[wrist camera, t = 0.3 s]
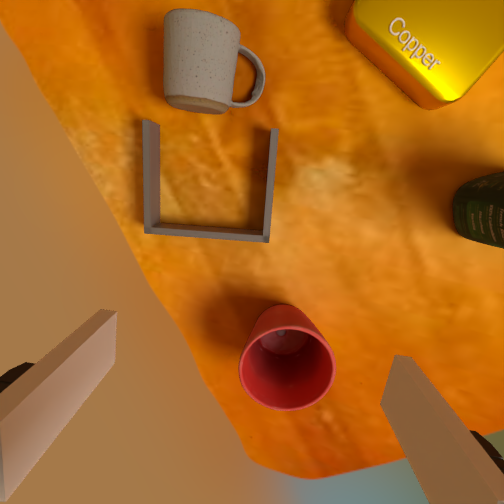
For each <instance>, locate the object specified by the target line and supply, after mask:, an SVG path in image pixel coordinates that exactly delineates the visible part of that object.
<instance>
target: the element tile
mask: <svg viewBox="0 0 504 504" xmlns="http://www.w3.org/2000/svg"><path fill="white" fill-rule="evenodd" d="M344 32H345V35H346V37H347V39H348V40H349V41H350V43H351V44H352V45H353V46H355V47H356V48H357V49H358V50H359V51H360V52H361V53H362V54H363V55H364V56H365V57H366V58H368V59H369V60H370V61H371V62H372V63H373V64H374V65H375V66H376V67H377V68H378V69H379V70H380V71H382V72H383V73H384V74H385V75H386V76H387V77H388V78H389V79H390V80H391V81H392V82H393V83H395V84H396V85H397V86H398V87H399V88H400V89H401V90H402V91H403V92H404V93H405V94H406V95H407V96H409V97H410V98H411V99H412V100H413V101H414V102H415V103H416V104H417V105H418V106H420V107H421V108H423V109H426V110H435V109H438V108H440V107H443V106H446V105H448V104H451V103H454V102H455V101H457V100H459V99H461V98H462V97H463V96H464V95H465V94H466V93H467V92H468V91H469V90H470V89H471V87H472V86H473V85H474V84H475V83H476V82H477V81H478V80H479V78H480V77H481V76H482V75H483V74H484V73H485V72H486V71H487V69H488V68H489V67H490V66H491V65H492V64H493V63H494V62H495V60H496V59H497V58H498V57H499V56H500V55H501V54H502V53H503V51H504V0H355V1H354V2H353V4H352V6H351V8H350V10H349V12H348V14H347V16H346V19H345V22H344Z"/></svg>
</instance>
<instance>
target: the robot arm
mask: <svg viewBox="0 0 504 504" xmlns="http://www.w3.org/2000/svg"><path fill="white" fill-rule="evenodd" d="M116 324H117V311H110V310H104V309H100V310H99V311H98V312H97V313H96V314H94V315H93V316H92V317H91V318H90V319H88V320H87V321H86V322H85V323H84V324H83V325H81V326H80V327H79V328H78V329H77V330H75V331H74V332H73V333H72V334H71V335H69V336H68V337H67V338H66V339H65V340H63V341H62V342H61V343H60V344H59V345H57V346H56V347H55V348H54V349H53V350H51V351H50V352H49V353H48V354H47V355H45V356H44V357H43V358H42V359H41V360H40V361H38V362H37V363H36V364H33V363H27V362H25V363H23V364H21V365H19V366H17V367H15V368H13V369H10V370H9V371H7V372H6V373H5V374H4V375H2V376H1V377H0V501H3V502H6V501H7V499H8V498H9V497H10V496H11V494H12V493H13V492H14V491H15V489H16V488H17V487H18V485H19V484H20V483H21V482H22V480H23V479H24V478H25V477H26V475H27V474H28V473H29V472H30V470H31V469H32V468H33V466H34V465H35V464H36V463H37V461H38V460H39V459H40V457H41V456H42V455H43V454H44V452H45V451H46V450H47V449H48V447H49V446H50V445H51V443H52V442H53V441H54V440H55V438H56V437H57V436H58V434H59V433H60V432H61V431H62V429H63V428H64V427H65V425H66V424H67V423H68V422H69V421H70V419H71V418H72V417H73V415H74V414H75V413H76V412H77V410H78V409H79V408H80V407H81V405H82V404H83V403H84V401H85V400H86V399H87V398H88V396H89V395H90V394H91V393H92V391H93V390H94V389H95V387H96V386H97V385H98V384H99V382H100V381H101V380H102V379H103V377H104V376H105V375H106V373H107V372H108V371H109V370H110V368H111V367H112V366H113V365H114V363H115V347H116ZM380 405H381V407H382V409H383V411H384V413H385V415H386V417H387V419H388V421H389V423H390V425H391V427H392V429H393V431H394V433H395V435H396V437H397V439H398V441H399V443H400V445H401V447H402V449H403V451H404V453H405V455H406V457H407V459H408V461H409V463H410V465H411V467H412V469H413V471H414V473H415V475H416V477H417V479H418V481H419V483H420V485H421V487H422V489H423V491H424V493H425V495H426V497H427V499H428V501H429V503H430V504H504V460H503V457H502V456H501V455H500V454H499V453H498V451H497V450H496V449H495V448H494V447H493V446H492V444H491V443H490V442H488V441H487V440H486V439H485V438H483V437H482V436H481V435H480V434H479V433H477V432H476V431H471V430H468V429H467V427H466V426H465V425H464V423H463V422H462V421H461V420H460V418H459V417H458V416H457V415H456V413H455V412H454V411H453V409H452V408H451V407H450V406H449V404H448V403H447V402H446V401H445V399H444V398H443V397H442V396H441V394H440V393H439V392H438V390H437V389H436V388H435V387H434V385H433V384H432V383H431V382H430V380H429V379H428V378H427V376H426V375H425V374H424V373H423V371H422V370H421V369H420V368H419V366H418V365H417V364H416V363H415V361H414V360H413V359H412V357H407V356H400V355H395V357H394V360H393V363H392V367H391V370H390V373H389V376H388V380H387V383H386V386H385V390H384V393H383V396H382V400H381V403H380Z"/></svg>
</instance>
